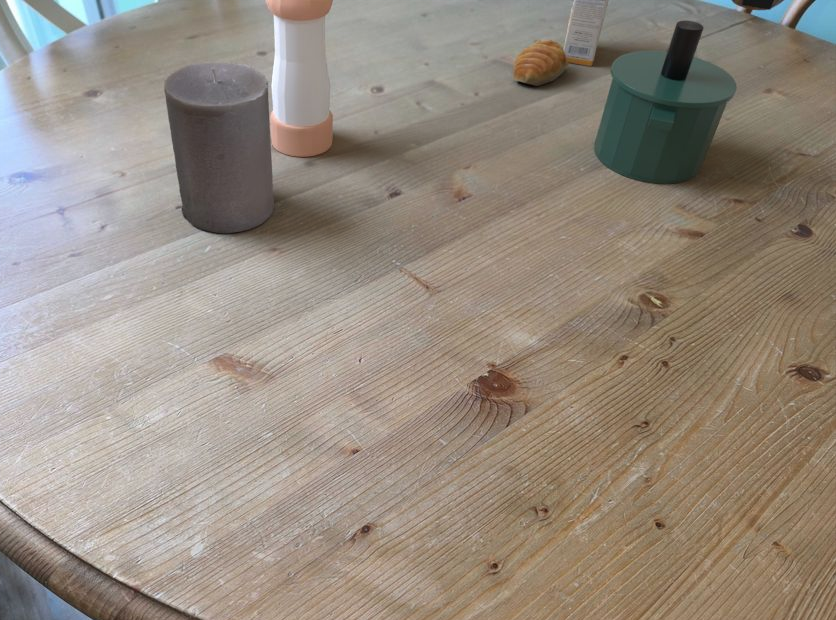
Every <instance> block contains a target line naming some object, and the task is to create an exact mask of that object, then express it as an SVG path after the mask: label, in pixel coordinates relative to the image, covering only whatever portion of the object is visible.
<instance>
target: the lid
mask: <svg viewBox="0 0 836 620" xmlns="http://www.w3.org/2000/svg"><path fill="white" fill-rule="evenodd" d="M703 31H704V26H703V24H701V23H699V22H697V21H693V20H679V21H677V22H676V25H675V27H674V30H673V33H672V37H671V39H670V43H669V46H668V48H667V50H638V51H637V50H636V51H631V52H627V53H624V54H622V55H620V56H618V57H617V58H615V60H613V62H612V64H611V68H610V75H611V78H612V79H614V81H615V82H616V83H617V84H618V85H619V86H620V87H622V88H623V89H625V90H626V91H628V92H630V93H632V94H634V95H636V96H638V97H640V98H643V99H646V100H649V101H652V102H655V103H659V104H664V105H668V106H674V107H682V108H708V107H715V106H719V105H722V104H724V103H726V102H727V103H728V102H730V101H731V100H732V99H733V98H734V96H735V94H736V92H737V82H736V80H735V78H734V77H733V76H732V75H731V74H730V73H729V72H727V71H726V70H725V69H723V68H721V67H720V66H718V65H716V64H714V63H712V62H710V61H708V60H705V59H702V58H699V57H696V56H695V54H696V51H697V48H698V46H699V42H700V40H701V37H702V34H703Z"/></svg>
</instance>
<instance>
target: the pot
mask: <svg viewBox="0 0 836 620" xmlns="http://www.w3.org/2000/svg"><path fill="white" fill-rule="evenodd" d="M610 83H611V84H610V87H609V90H608V94H607V98H606V100H605V101H606V102H605V104H604V108H603V112H602V114H601V115H602V116H601V119H600V123H599V127H598V130H597V134H596V137H595V141H594V146H593V150H594V154H595V156H596V158H597V159H598V160H599V162H600V163H602V164H603V165H604V166H605V167H606V168H608V169H609V170H611V171H613V172H614V173H616V174H619V175H621V176H624V177H626V178H629V179H632V180H635V181H639V182H644V183H650V184H660V185H661V184H662V185H665V184H666V185H669V184H671V185H672V184H678V183H683V182H686V181H688V180H691V179H693V178H694V177H695V176H697V175H698V174H699V172H700V171H701V169H702V167H703V165H704V162H705V160H706V157H707V154H708V152H709V149H710V147H711V145H712V142H713V139H714V137H715V134H716V132H717V129H718V127H719V124H720V122H721V119H722V117H723V114H724V112H725V109H726V107H727V104H728V102H726V103H724V104H722V105H719V106H715V107H708V108H682V107H674V106H668V105H664V104H659V103H655V102H652V101H649V100H646V99H643V98H640V97H638V96H636V95H634V94H632V93H630V92H628V91H626V90H625V89H623V88H622V87H620V86H619V85H618V84H617V83H616V82H615V81H614V79H613V78H612V79H611V82H610Z"/></svg>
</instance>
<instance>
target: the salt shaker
mask: <svg viewBox="0 0 836 620" xmlns="http://www.w3.org/2000/svg"><path fill="white" fill-rule="evenodd" d="M333 2H334V0H265V3H266V6H267V8H268V11H269V12H270V14H272V15H273V32H274V33H273V34H274V57H273V58H274V59H273V68H272V77H271V98H272V110H271V112H270V114H269V120H270V138H271V145H272V146H273V148H274V149H275V150H276V151H278V152H279V153H282V154H284V155H287V156H291V157H299V158H305V157H315V156H318V155H322V154H324V153H325V152H328V150H330V149H331V147H332V145H333V133H334V132H333V126H334V125H333V123H334V117H333V116H334V115H333V113H332V111H331V110H330V107H331V104H330V103H331V81H330V74H329V67H328V61H327V60H328V59H327V54H326V16H327V15H328V14H329V13H330V11H331V8H332V6H333Z"/></svg>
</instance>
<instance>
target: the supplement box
mask: <svg viewBox="0 0 836 620" xmlns="http://www.w3.org/2000/svg"><path fill="white" fill-rule="evenodd" d="M609 1H610V0H573V1H572V5H571V10H570V14H569V18H568V25H567V29H566V33H565V39H564V44H563V50H564V52H565V54H566V58H567V60H568V64H575V65H576V64H577V65H582V66H589V67H592V66H593V64H594V61H595V56H596V52H597V49H598V45H599V41H600V37H601V32H602V28H603V24H604V20H605V17H606V13H607V8H608V4H609Z"/></svg>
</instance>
